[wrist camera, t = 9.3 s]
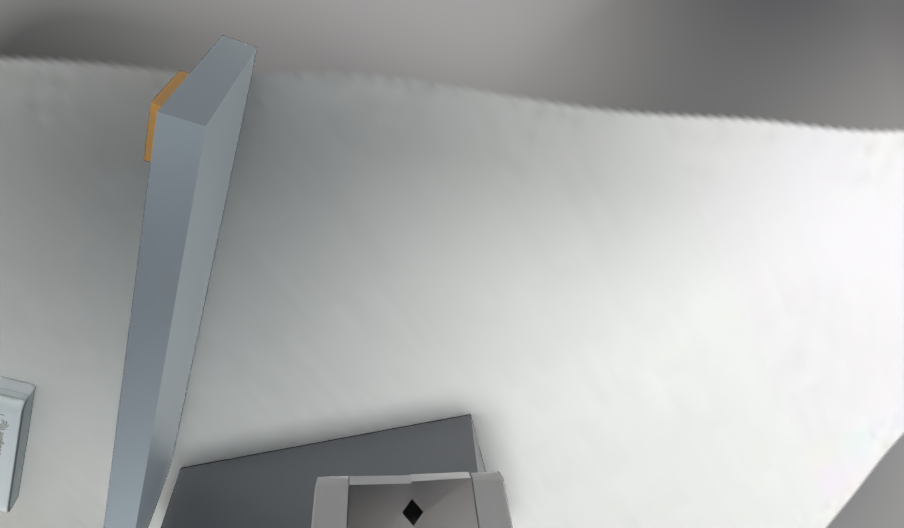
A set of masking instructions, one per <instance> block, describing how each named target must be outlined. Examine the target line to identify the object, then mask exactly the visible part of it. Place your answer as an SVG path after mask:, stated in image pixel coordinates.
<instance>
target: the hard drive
mask: <svg viewBox="0 0 904 528" xmlns="http://www.w3.org/2000/svg"><path fill="white" fill-rule="evenodd" d="M35 388H36V386H35V385H32V384H28V383H24V382H20V381H15V380H11V379H7V378H3V377H0V512H7V513H8V512H9V511H10V510H11V508H12V507H13V505H14V503H15V501H16V500H17V498H18V494H19V488H20V482H21V476H22V470H23V463H24V457H25V451H26V445H27V438H28V432H29V425H30V419H31V412H32V406H33V400H34V394H35Z"/></svg>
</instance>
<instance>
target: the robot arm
mask: <svg viewBox="0 0 904 528" xmlns="http://www.w3.org/2000/svg"><path fill="white" fill-rule="evenodd" d="M311 528H513V526H512V521H511V516H510V511H509V506H508V500H507V495H506V490H505V485H504V480H503V477H502V475H501V474H500V472H498V471H496V472H477V473H469V472H452V473H431V474H410V475H404V476H350V477H349V476H329V477H318V478H317V482H316V485H315V492H314V503H313V513H312V523H311Z"/></svg>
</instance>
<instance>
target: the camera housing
mask: <svg viewBox="0 0 904 528" xmlns="http://www.w3.org/2000/svg"><path fill="white" fill-rule="evenodd" d="M452 472H469V473H477V472H486V471H485V467H484V464H483V460H482V456H481V452H480V448H479V445H478V441H477V437H476V433H475V429H474V425H473V422H472V418H471V415H466V416H461V417H456V418H450V419H445V420H439V421H434V422H429V423H423V424H418V425H413V426H407V427H402V428H396V429H391V430H386V431H380V432H375V433H370V434H364V435H359V436H353V437H348V438H343V439H337V440H332V441H327V442H321V443H316V444H310V445H305V446H300V447H294V448H289V449H284V450H278V451H273V452H267V453H262V454H257V455H251V456H246V457H241V458H235V459H230V460H224V461H219V462H214V463H208V464H203V465H198V466H192V467H187V468H181V470H180V473H179V476H178V479H177V482H176V484H175V487H174V490H173V493H172V496H171V499H170V502H169V505H168V508H167V511H166V514H165V517H164V520H163V523H162V525H161V528H311V523H312V513H313V503H314V492H315V485H316V482H317V478H318V477H329V476H349V477H350V476H404V475H410V474H431V473H452Z"/></svg>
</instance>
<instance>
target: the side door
mask: <svg viewBox="0 0 904 528" xmlns="http://www.w3.org/2000/svg"><path fill="white" fill-rule="evenodd" d="M256 52H257V47H256V46H253V45H250V44H247V43H244V42H241V41H238V40H235V39H232V38H229V37H226V36H224V35H222V37H221V38H220V39H219V40H218V41H217V42H216V44H215V45H214V46H213V47H212V48H211V50H210V51H209V52H208V53H207V54H206V55H205V56H204V58H203V59H202V60H201V61H200V62H199V63H198V64H197V66H196V67H195V68H194V69H193V70H192V71H191V73H187V72H183V71H179V72H178V73H177V74H176V75H175V76H174V78H173V79H172V80H171V81H170V82H169V83H168V84H167V85H166V86H165V87H164V88H163V90H162V91H161V92H160V93H159V94H158V95H157V96H156V97H155V98H154V99H153V101H152V102H151V107H150V115H149V123H148V131H147V139H146V148H145V156H144V160H145V161H149V162H150V170H149V177H148V185H147V193H146V201H145V209H144V216H143V224H142V232H141V240H140V248H139V256H138V263H137V271H136V279H135V287H134V295H133V302H132V310H131V318H130V326H129V334H128V341H127V349H126V357H125V365H124V373H123V381H122V388H121V396H120V404H119V412H118V420H117V427H116V435H115V443H114V451H113V459H112V466H111V474H110V482H109V490H108V498H107V505H106V513H105V521H104V528H148V527H149V525H150V522H151V519H152V516H153V513H154V511H155V508H156V505H157V502H158V500H159V497H160V494H161V491H162V488H163V486H164V483H165V480H166V477H167V474H168V472H169V469H170V466H171V462H172V457H173V453H174V448H175V443H176V438H177V433H178V428H179V424H180V419H181V414H182V409H183V404H184V399H185V395H186V390H187V385H188V380H189V375H190V370H191V366H192V361H193V356H194V351H195V346H196V341H197V337H198V332H199V327H200V322H201V317H202V312H203V308H204V303H205V298H206V293H207V288H208V284H209V279H210V274H211V269H212V264H213V259H214V255H215V250H216V245H217V240H218V235H219V230H220V226H221V221H222V216H223V211H224V206H225V201H226V197H227V192H228V187H229V182H230V177H231V172H232V168H233V163H234V158H235V153H236V148H237V143H238V139H239V134H240V129H241V124H242V119H243V115H244V110H245V105H246V100H247V95H248V90H249V86H250V81H251V76H252V71H253V66H254V61H255V57H256Z"/></svg>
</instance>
